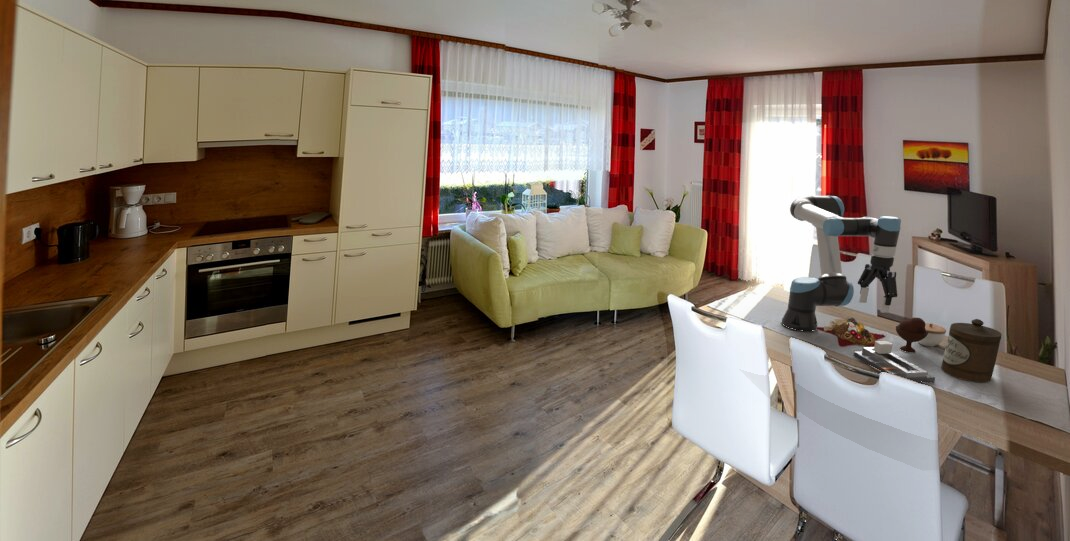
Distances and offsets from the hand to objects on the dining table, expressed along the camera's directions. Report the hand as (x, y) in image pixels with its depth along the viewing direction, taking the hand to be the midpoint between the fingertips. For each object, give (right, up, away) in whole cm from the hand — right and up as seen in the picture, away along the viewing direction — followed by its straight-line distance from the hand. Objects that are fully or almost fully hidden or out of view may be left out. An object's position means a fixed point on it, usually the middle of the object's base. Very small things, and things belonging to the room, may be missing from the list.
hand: (873, 307), depth 203 cm
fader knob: (+1, -20, -4) cm, 20 cm away
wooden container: (+26, -25, -13) cm, 38 cm away
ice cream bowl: (+20, -19, +7) cm, 28 cm away
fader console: (+1, -23, -9) cm, 25 cm away
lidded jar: (+33, -17, +14) cm, 40 cm away
